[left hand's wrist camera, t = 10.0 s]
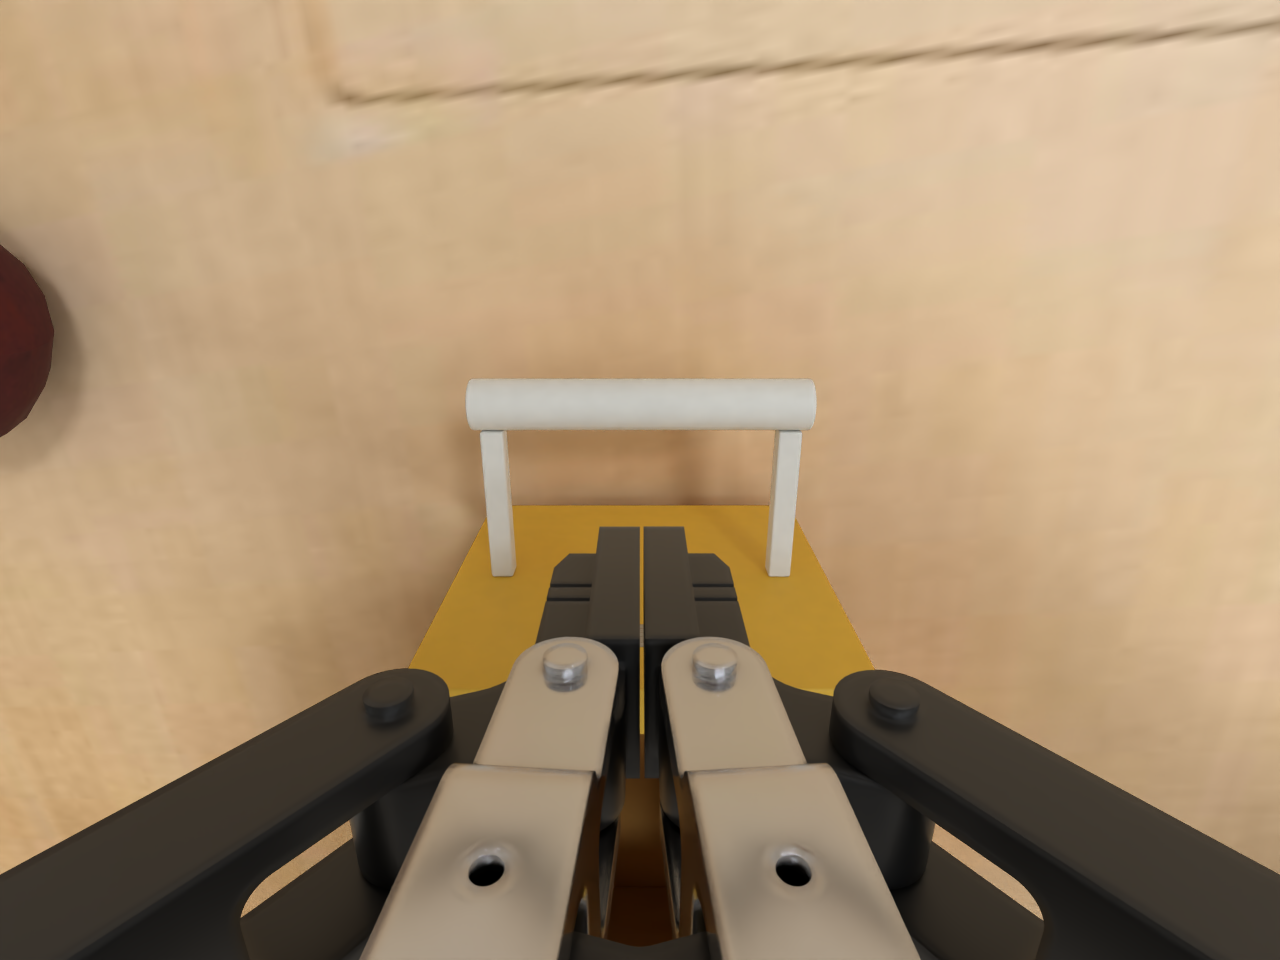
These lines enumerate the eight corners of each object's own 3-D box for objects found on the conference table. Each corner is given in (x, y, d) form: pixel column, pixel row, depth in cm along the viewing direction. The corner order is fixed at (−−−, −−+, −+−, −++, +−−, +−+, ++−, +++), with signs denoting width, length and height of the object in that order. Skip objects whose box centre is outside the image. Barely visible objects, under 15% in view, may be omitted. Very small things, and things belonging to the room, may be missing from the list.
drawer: (478, 346, 22) (357, 440, 12) (802, 346, 22) (925, 440, 12) (522, 874, 30) (469, 1169, 20) (758, 873, 30) (812, 1170, 20)
